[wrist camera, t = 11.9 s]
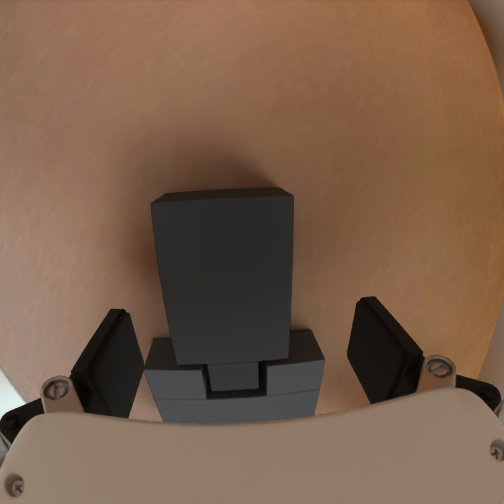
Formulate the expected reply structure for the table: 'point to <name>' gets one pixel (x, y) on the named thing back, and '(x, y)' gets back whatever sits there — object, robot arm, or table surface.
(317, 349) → the charcoal block
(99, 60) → the table surface
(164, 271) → the black block
